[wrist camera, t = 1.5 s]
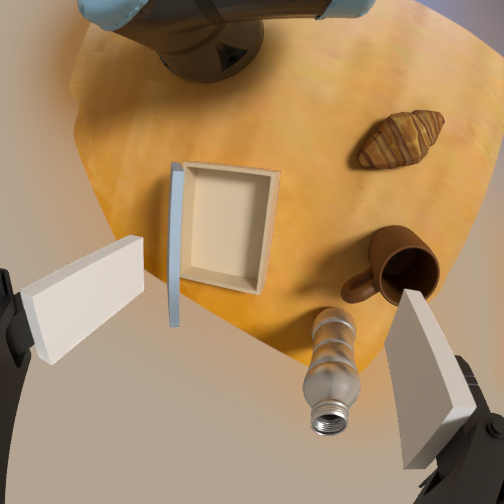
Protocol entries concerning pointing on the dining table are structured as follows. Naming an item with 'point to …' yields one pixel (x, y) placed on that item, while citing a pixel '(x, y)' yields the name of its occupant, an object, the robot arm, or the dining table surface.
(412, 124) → the croissant
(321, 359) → the plastic bottle
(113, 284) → the robot arm
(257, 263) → the base
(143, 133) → the dining table surface
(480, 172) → the dining table surface
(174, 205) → the lid
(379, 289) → the mug
